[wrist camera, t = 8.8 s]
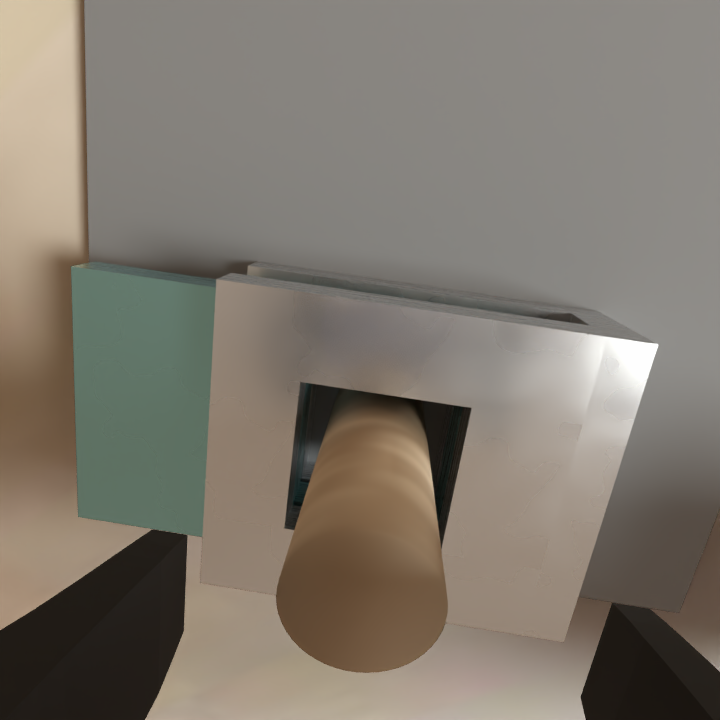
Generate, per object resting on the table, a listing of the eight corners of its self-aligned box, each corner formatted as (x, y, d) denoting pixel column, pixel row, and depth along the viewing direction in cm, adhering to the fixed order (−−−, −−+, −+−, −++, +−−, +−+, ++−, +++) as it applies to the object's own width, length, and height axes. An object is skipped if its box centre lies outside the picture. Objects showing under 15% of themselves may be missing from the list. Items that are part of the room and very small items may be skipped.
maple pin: (432, 378, 17) (466, 550, 9) (412, 458, 18) (425, 687, 10) (343, 359, 17) (290, 513, 9) (327, 440, 18) (264, 653, 10)
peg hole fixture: (597, 311, 16) (658, 344, 12) (530, 553, 19) (563, 642, 15) (119, 240, 17) (36, 252, 13) (119, 488, 19) (51, 558, 16)
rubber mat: (905, -12, 14) (926, -21, 13) (670, 601, 20) (679, 613, 19) (94, -115, 15) (82, -128, 14) (102, 509, 20) (93, 518, 20)
